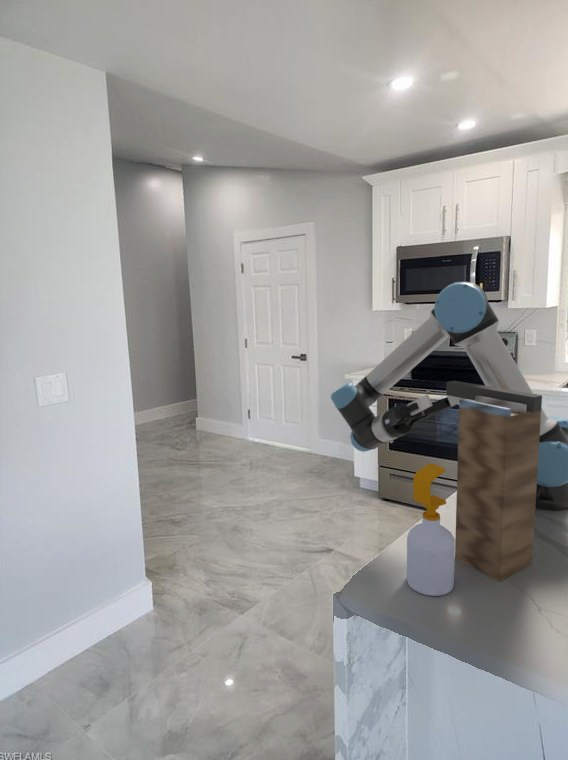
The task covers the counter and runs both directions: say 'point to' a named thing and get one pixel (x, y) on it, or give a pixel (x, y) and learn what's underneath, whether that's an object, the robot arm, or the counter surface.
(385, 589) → the counter surface
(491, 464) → the wooden block tower
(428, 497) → the soap bottle
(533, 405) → the bar
